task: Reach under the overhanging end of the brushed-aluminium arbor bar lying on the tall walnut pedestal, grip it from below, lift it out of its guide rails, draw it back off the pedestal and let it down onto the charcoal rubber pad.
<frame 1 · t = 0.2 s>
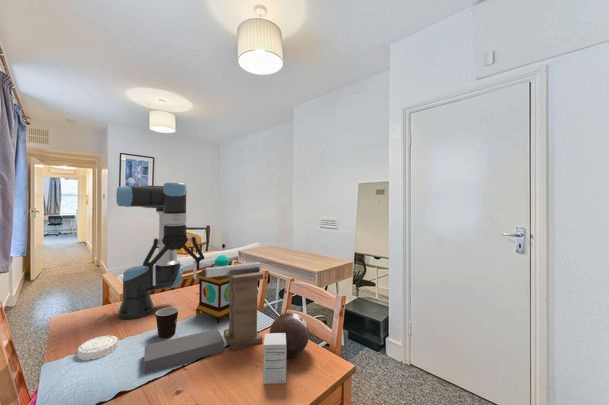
hand: (175, 281, 97), 27 cm above the table, tool pointing down, fingers open, 13 cm apart
supplement box: (274, 377, 86), on the table
wooden sphere: (289, 354, 98), on the table
mooncake: (98, 352, 98), on the table
decorative lantern: (221, 313, 132), on the table
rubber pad: (185, 353, 97), on the table
pedestal: (242, 338, 109), on the table
arbor bar: (234, 273, 106), point 28 cm above the table, touching pedestal
coffee mug: (169, 333, 112), on the table
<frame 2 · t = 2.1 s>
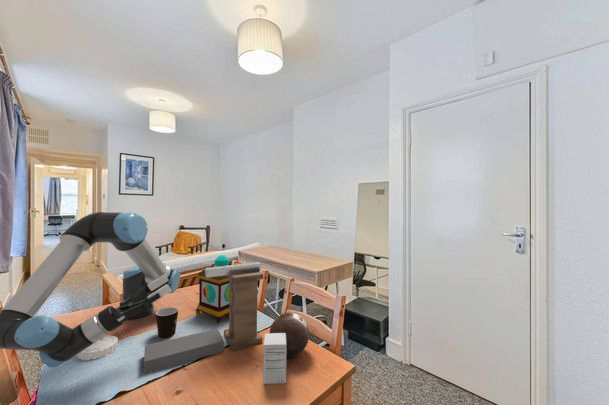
hand: (168, 282, 94), 28 cm above the table, tool pointing upward, fingers open, 13 cm apart
nothing on the table moved.
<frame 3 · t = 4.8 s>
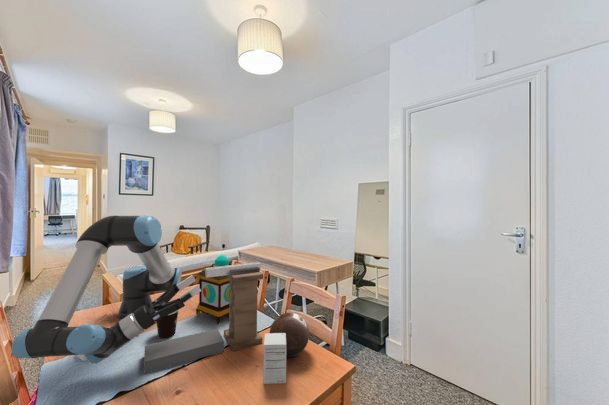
hand: (196, 282, 99), 26 cm above the table, tool pointing upward, fingers open, 13 cm apart
nothing on the table moved.
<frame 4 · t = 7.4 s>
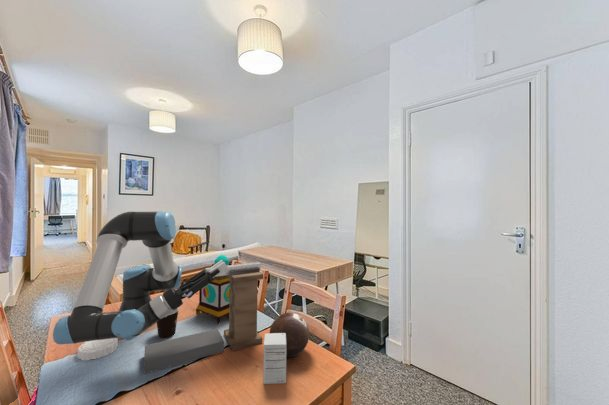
hand: (224, 263, 104), 32 cm above the table, tool pointing upward, fingers closed on arbor bar, 3 cm apart
arbor bar: (234, 273, 106), point 28 cm above the table, touching gripper, pedestal
everything else where it was.
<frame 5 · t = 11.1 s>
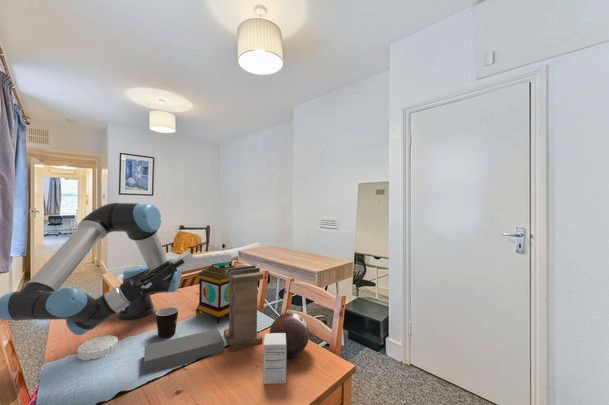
hand: (190, 254, 98), 37 cm above the table, tool pointing upward, fingers closed on arbor bar, 3 cm apart
arbor bar: (201, 264, 100), point 33 cm above the table, touching gripper
everything else where it was.
when the fingers open (25 cm above the table, at t = 14.7 s): arbor bar drops 17 cm, resting on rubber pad.
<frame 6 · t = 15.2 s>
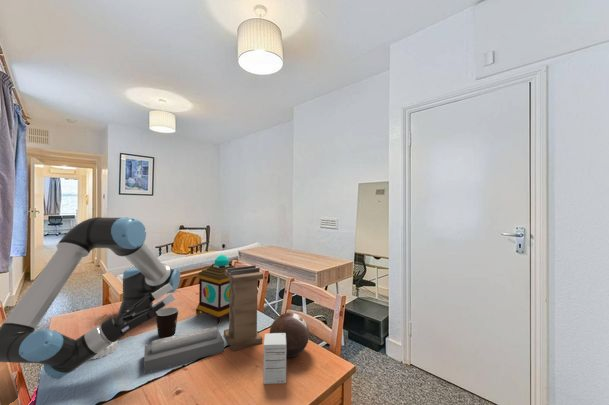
hand: (172, 290, 95), 24 cm above the table, tool pointing upward, fingers open, 11 cm apart
arbor bar: (185, 343, 97), point 4 cm above the table, touching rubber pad
everything else where it was.
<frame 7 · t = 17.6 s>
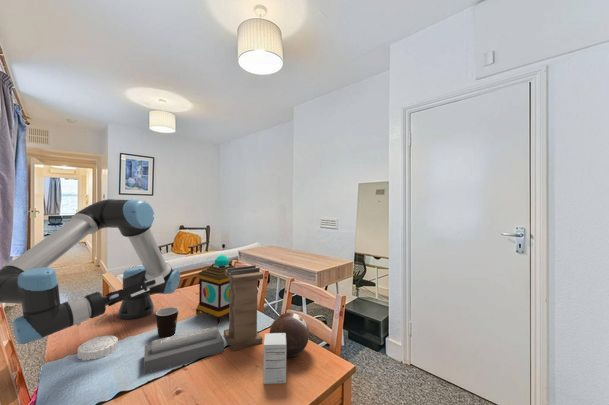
hand: (155, 283, 100), 26 cm above the table, tool horizontal, fingers open, 13 cm apart
nothing on the table moved.
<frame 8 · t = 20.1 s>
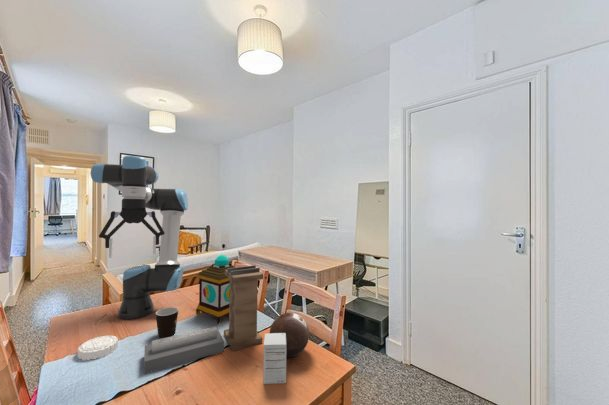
hand: (133, 255, 97), 37 cm above the table, tool pointing down, fingers open, 13 cm apart
nothing on the table moved.
at the end: arbor bar touching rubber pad; arbor bar inside the target area (0.3 cm from its centre), point 4.0 cm above the table; the gripper is holding nothing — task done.
